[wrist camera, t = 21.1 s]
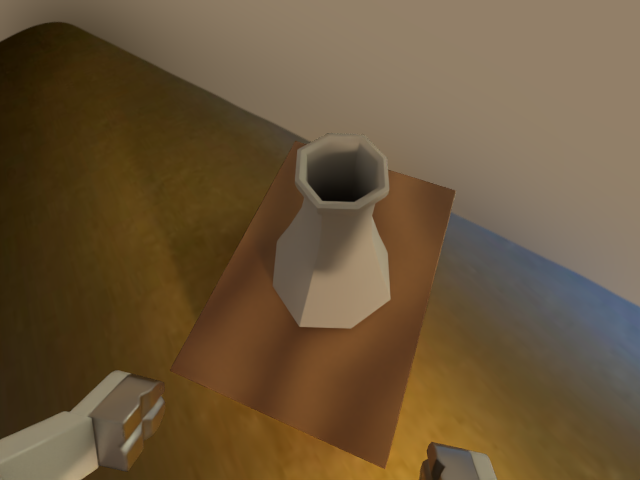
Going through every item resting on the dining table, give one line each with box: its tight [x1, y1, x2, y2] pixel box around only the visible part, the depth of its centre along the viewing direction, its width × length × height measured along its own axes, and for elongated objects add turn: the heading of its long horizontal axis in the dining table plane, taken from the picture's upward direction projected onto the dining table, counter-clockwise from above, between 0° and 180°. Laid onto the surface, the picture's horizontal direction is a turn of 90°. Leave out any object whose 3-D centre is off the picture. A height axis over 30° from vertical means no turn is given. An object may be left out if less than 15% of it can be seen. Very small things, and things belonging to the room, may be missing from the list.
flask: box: [273, 133, 391, 329], centre depth 15 cm, size 7×7×10 cm
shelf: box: [170, 141, 456, 469], centre depth 24 cm, size 12×17×9 cm
